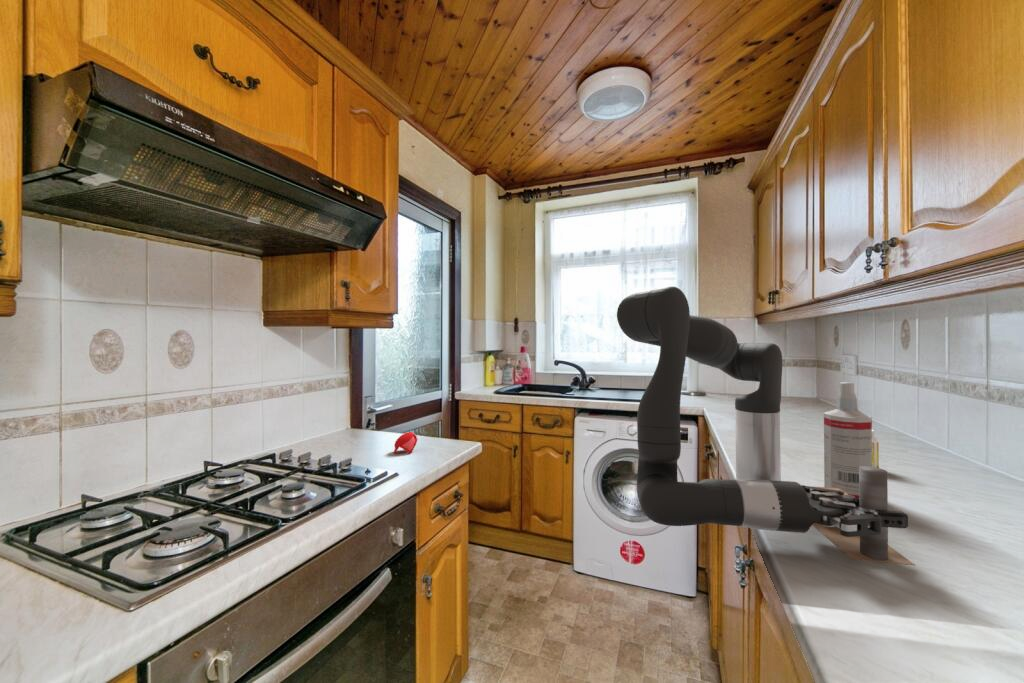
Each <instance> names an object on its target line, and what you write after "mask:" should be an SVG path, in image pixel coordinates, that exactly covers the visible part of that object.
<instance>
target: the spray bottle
mask: <svg viewBox="0 0 1024 683" xmlns="http://www.w3.org/2000/svg"><path fill="white" fill-rule="evenodd" d="M858 407H859V406H858V398H857V395H856V393H855V383H854V382H850V381H842V382H840V383H839V393H838V395H837V403H836V408H834V409H833V410H832V409H831V410H829V411H828V410H827V411H825V412H823V466H824V467H823V468H824V469H823V471H824V472H823V473H824V475H823V476H824V481H823V483H824V484H823V485H824V486H823V487H829V488H839V489H840V490H842V491H843V492H845V493H846V494H848V495H852V496H854V497H855V499H856V498H859V467H861V466H869V467H872V430H873V422H872V421H873V417H872V415H870V414H867V413H864V412H862V411H860V410H859V409H858Z"/></svg>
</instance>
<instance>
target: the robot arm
mask: <svg viewBox="0 0 1024 683" xmlns="http://www.w3.org/2000/svg"><path fill="white" fill-rule="evenodd" d="M616 319H617V320H616V321H617V323H618V326H619V328H620V329H621V331H622V332H623V333H624V335H625V336H627V337H628V338H629V339H631V340H632V341H634V342H638V343H644V344H649V345H653V346H657V347H660V351H659V358H658V362H657V365H656V368H655V370H654V372H653V375H652V377H651V379H650V382H649V383H648V384H647V387H646V388H645V390H644V392H643V394H642V397H641V399H640V402H639V404H638V409H637V415H636V416H637V417H636V423H637V428H636V429H637V432H636V433H637V434H636V435H637V436H636V437H637V449H638V450H637V451H638V460H637V472H636V474H637V476H636V487H637V488H636V491H637V499H638V502H639V505H640V507H641V511H642V512H643V514H644V516H646V517H647V518H648V519H649V521H650V520H651V521H652V522H654V523H656V524H659V525H662V526H669V527H687V526H698V525H704V524H705V525H706V524H715V525H721V526H722V525H723V526H736V527H745V528H748V529H749V528H750V529H753V530H754V529H755V530H764V531H775V532H786V533H787V532H788V533H799V534H805V533H807V532H808V531H810V529H811V527H812V526H813V525H812V524H814V523H817V524H820V525H823V526H828V527H834V526H836V527H838V528H840V534H841V535H843V536H845V537H855V536H867V535H880V534H881V527H888V528H894V529H907V528H908V526H909V516H908V514H907V513H905V512H903V511H900V510H889V509H888V510H874V509H866V508H859V498H856V499H855V497H854V496H852V495H844V492H842V491H839V490H838V491H837V490H830V489H824V488H817V487H818V486H812V487H810V486H811V485H810V486H808V485H804V484H803V485H801V483H799V482H797V481H788V480H787V481H786V480H782V465H781V464H782V457H781V456H782V453H781V452H782V451H781V450H782V448H781V447H782V446H781V444H782V443H781V442H782V441H781V440H782V438H781V401H782V382H783V381H782V380H783V354H782V350H781V348H780V347H779V346H778V345H777V343H772V342H767V343H766V342H738V339H737V336H736V334H735V333H734V331H733V330H731V329H730V328H729V327H728V326H727V325H724V324H722V323H721V322H719V321H717V320H714V319H712V318H709V317H704V316H699V315H692V314H691V313H690V306H689V301H688V299H687V296H686V295H685V293H684V292H683V291H682V289H680V288H678V287H677V286H675V285H674V286H672V285H669V286H663V287H658V288H653V289H648V290H642V291H638V292H634V293H632V294H630V295H628V296H626V297H625V298H623V299H622V300H621V301H620V303H619V304H618V307H617V311H616ZM686 358H688V359H690V360H692V361H694V362H698V363H700V364H703V365H705V366H709V367H712V368H714V369H718V370H720V371H722V372H723V373H725V374H726V375H728V376H730V377H732V378H733V379H735V380H738V381H746V382H758V383H759V386H758V388H757V389H756V390H755V391H753V392H750V393H747V394H741V395H739V396H736V397H735V399H734V407H735V409H734V414H735V416H734V420H735V421H734V422H735V427H734V428H735V479H727V478H726V479H724V478H704V479H701V480H700V481H698V482H693V481H690V482H689V481H678V460H679V458H680V456H681V450H682V448H681V447H682V446H681V445H682V444H681V443H682V440H681V439H682V437H681V397H682V396H681V394H682V389H683V388H682V387H683V382H684V381H683V379H684V374H685V366H686ZM847 513H850V515H847ZM859 514H863V515H859Z"/></svg>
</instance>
